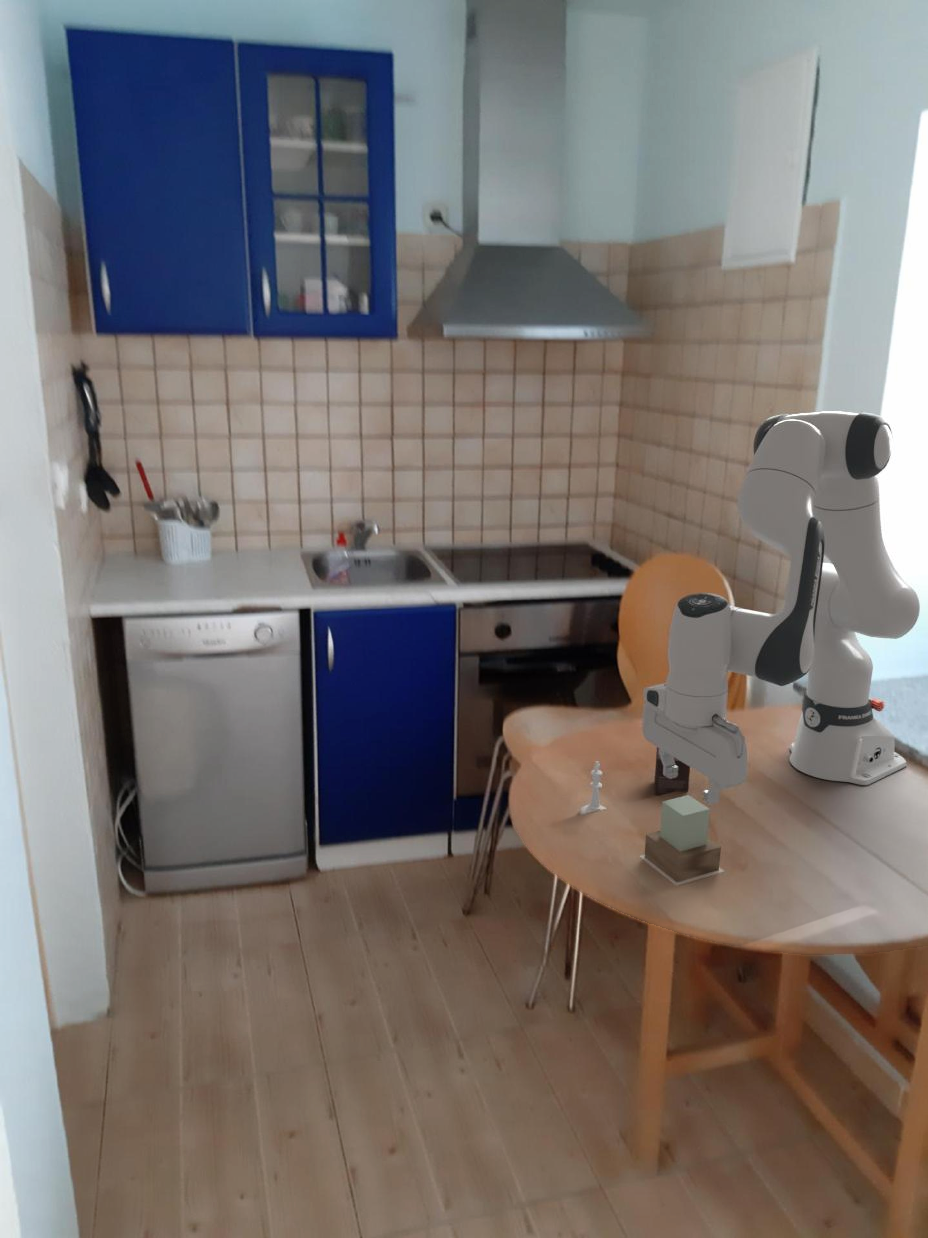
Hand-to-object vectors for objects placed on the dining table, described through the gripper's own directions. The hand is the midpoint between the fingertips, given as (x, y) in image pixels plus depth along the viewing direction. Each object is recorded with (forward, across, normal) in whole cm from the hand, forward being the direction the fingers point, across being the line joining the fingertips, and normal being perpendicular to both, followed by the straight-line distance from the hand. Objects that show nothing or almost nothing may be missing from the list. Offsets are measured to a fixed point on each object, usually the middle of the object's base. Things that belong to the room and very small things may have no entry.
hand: (689, 789), depth 143 cm
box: (+15, +23, -15) cm, 31 cm away
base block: (+13, 0, +1) cm, 13 cm away
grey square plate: (+14, 0, -1) cm, 14 cm away
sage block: (+9, 0, +1) cm, 9 cm away
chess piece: (+14, +21, +3) cm, 25 cm away
